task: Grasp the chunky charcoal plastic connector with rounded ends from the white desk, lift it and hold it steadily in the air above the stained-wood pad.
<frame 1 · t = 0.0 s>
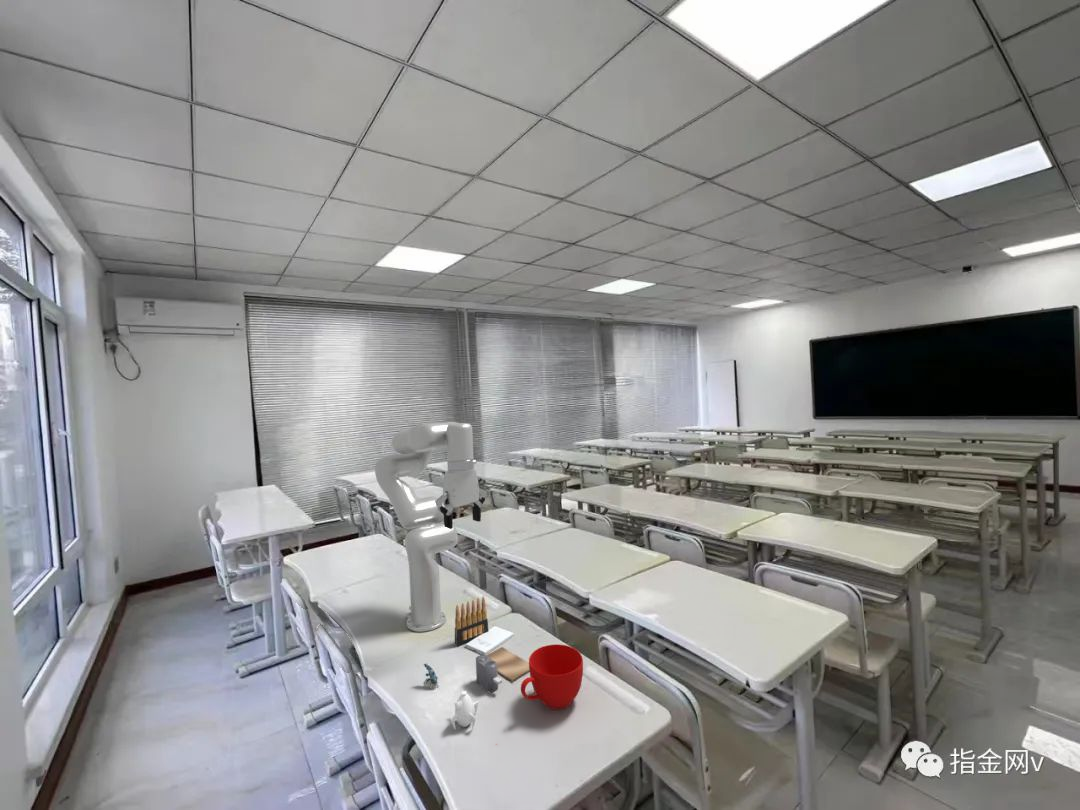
hand: (463, 524, 130), 37 cm above the table, tool pointing down, fingers open, 9 cm apart
wood pad: (506, 664, 123), on the table
external hard drive: (489, 644, 135), on the table
ceramic cup: (551, 705, 106), on the table
connector: (487, 684, 114), on the table
sculpture: (431, 687, 115), on the table
ammunition clip: (472, 640, 136), on the table
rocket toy: (465, 725, 101), on the table
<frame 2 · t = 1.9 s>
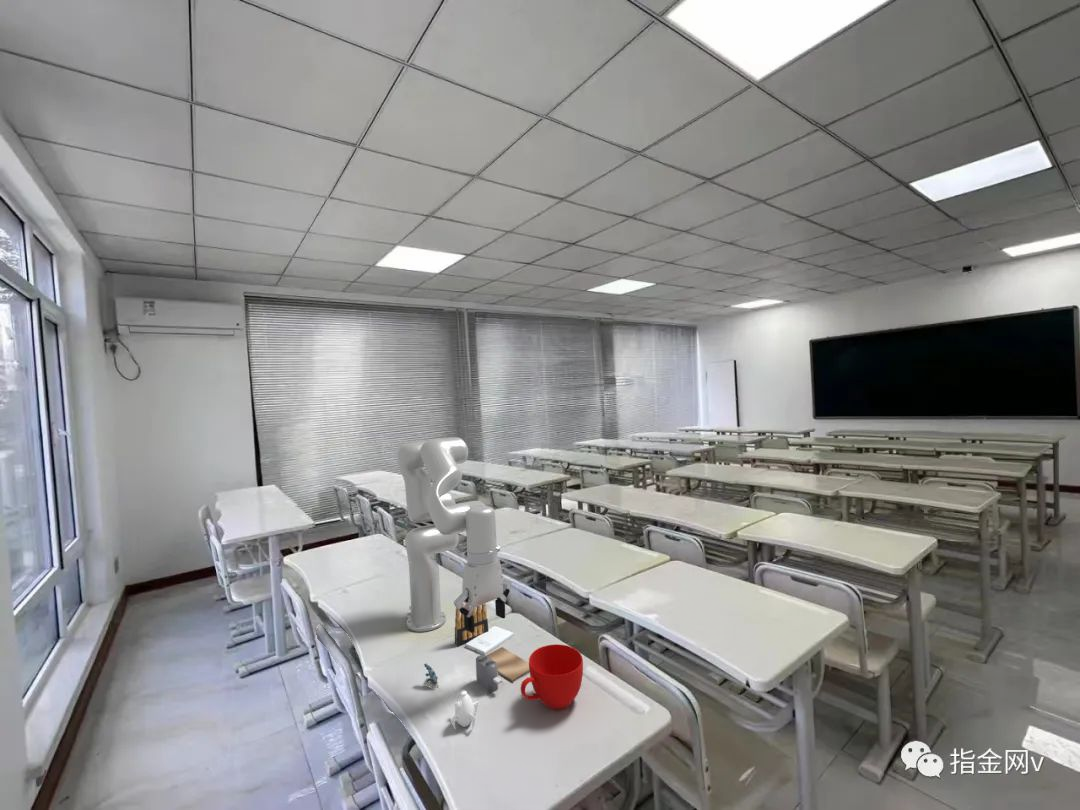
hand: (485, 623, 114), 16 cm above the table, tool pointing down, fingers open, 9 cm apart
nothing on the table moved.
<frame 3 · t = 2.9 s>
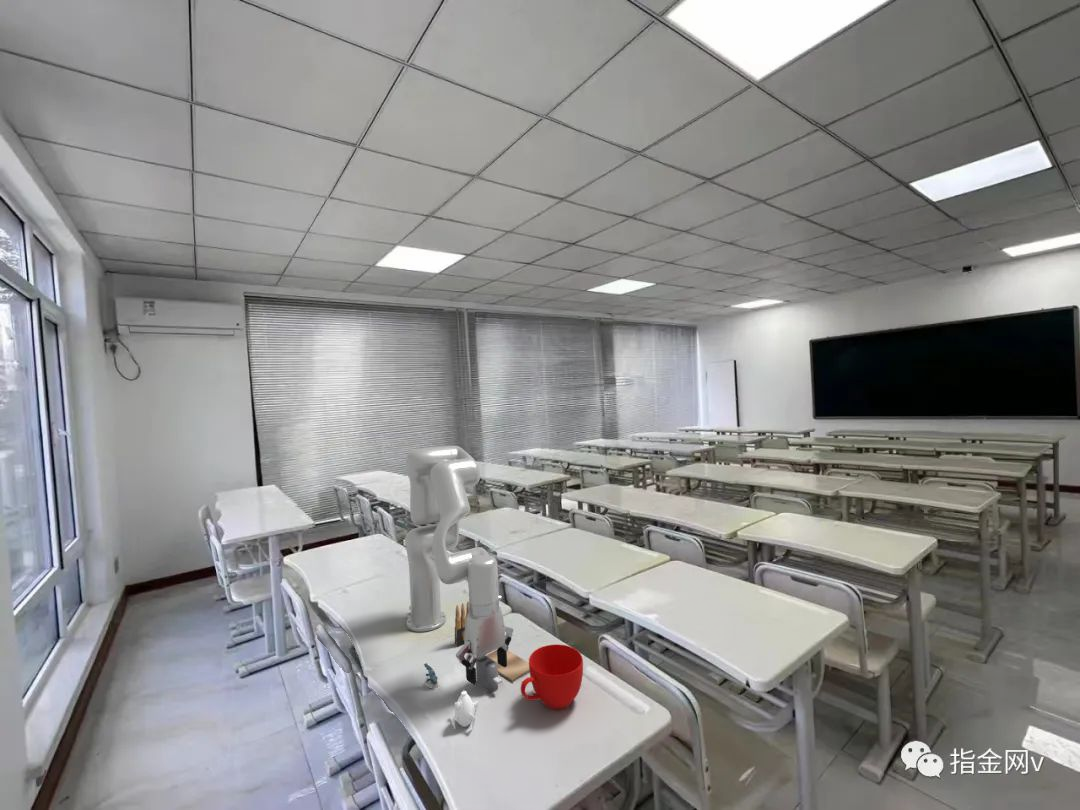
hand: (487, 673, 114), 3 cm above the table, tool pointing down, fingers open, 9 cm apart
nothing on the table moved.
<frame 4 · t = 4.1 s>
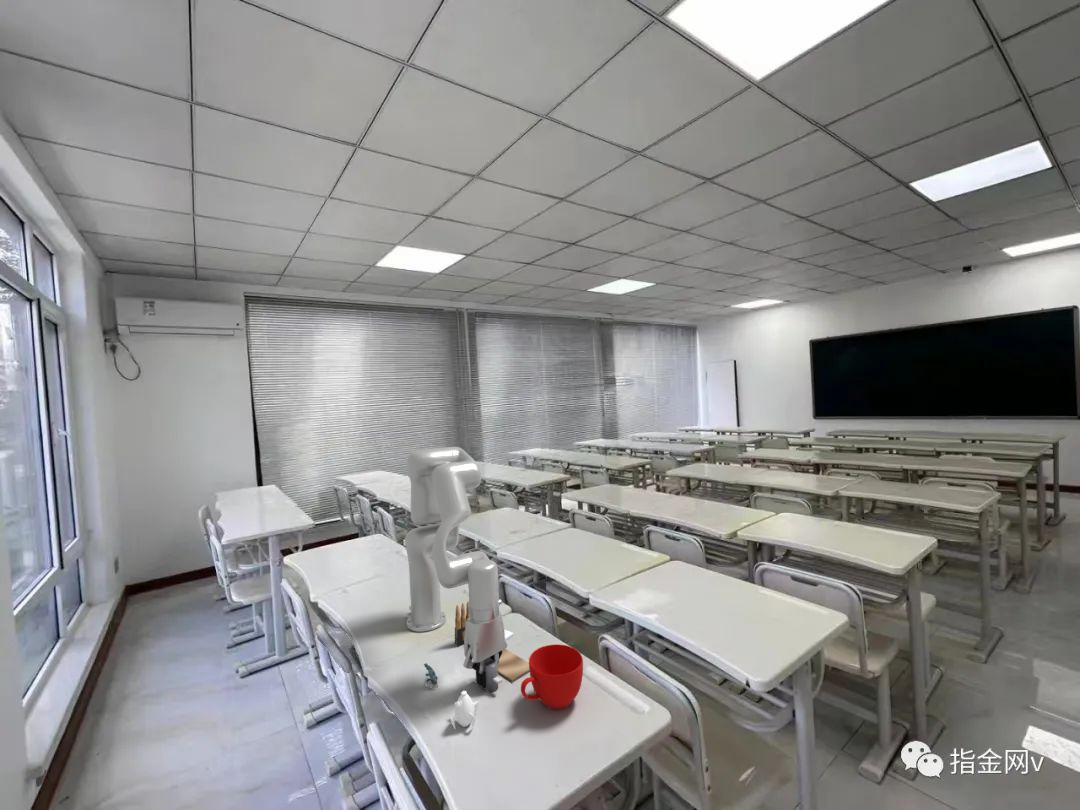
hand: (487, 681, 114), 1 cm above the table, tool pointing down, fingers closed on connector, 3 cm apart
connector: (487, 684, 114), on the table, touching gripper
everything else where it was.
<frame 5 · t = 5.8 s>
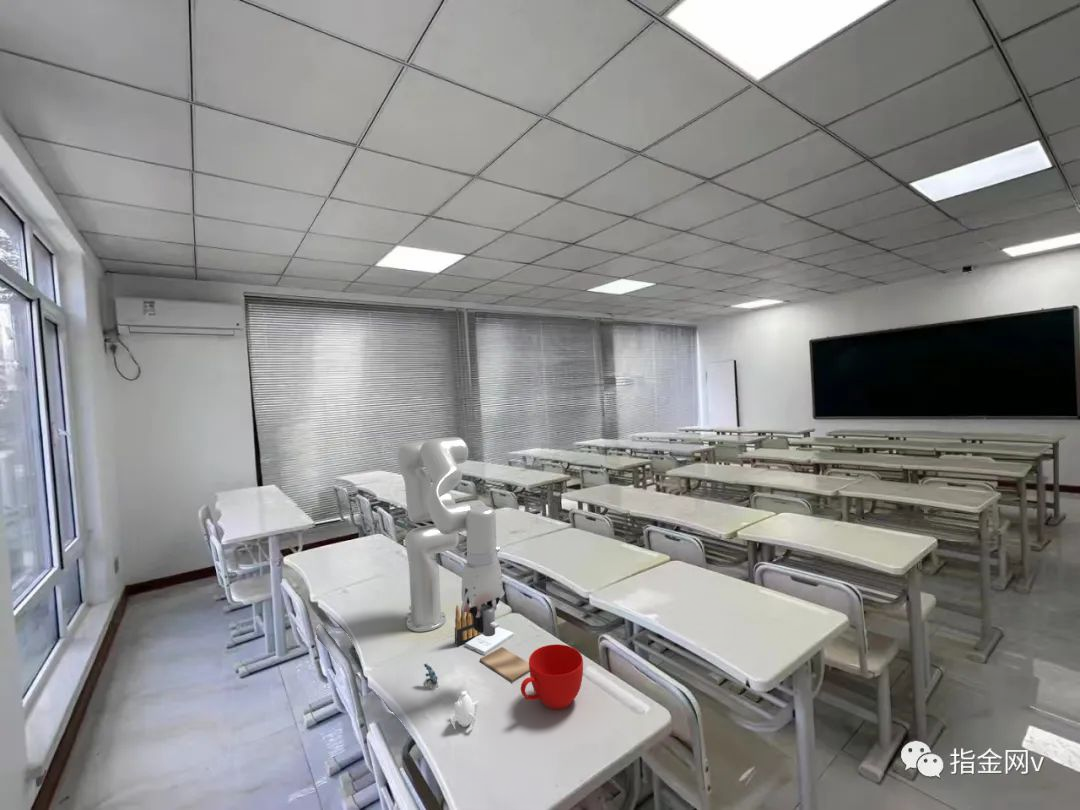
hand: (484, 627, 114), 15 cm above the table, tool pointing down, fingers closed on connector, 3 cm apart
connector: (484, 630, 114), point 14 cm above the table, touching gripper
everything else where it was.
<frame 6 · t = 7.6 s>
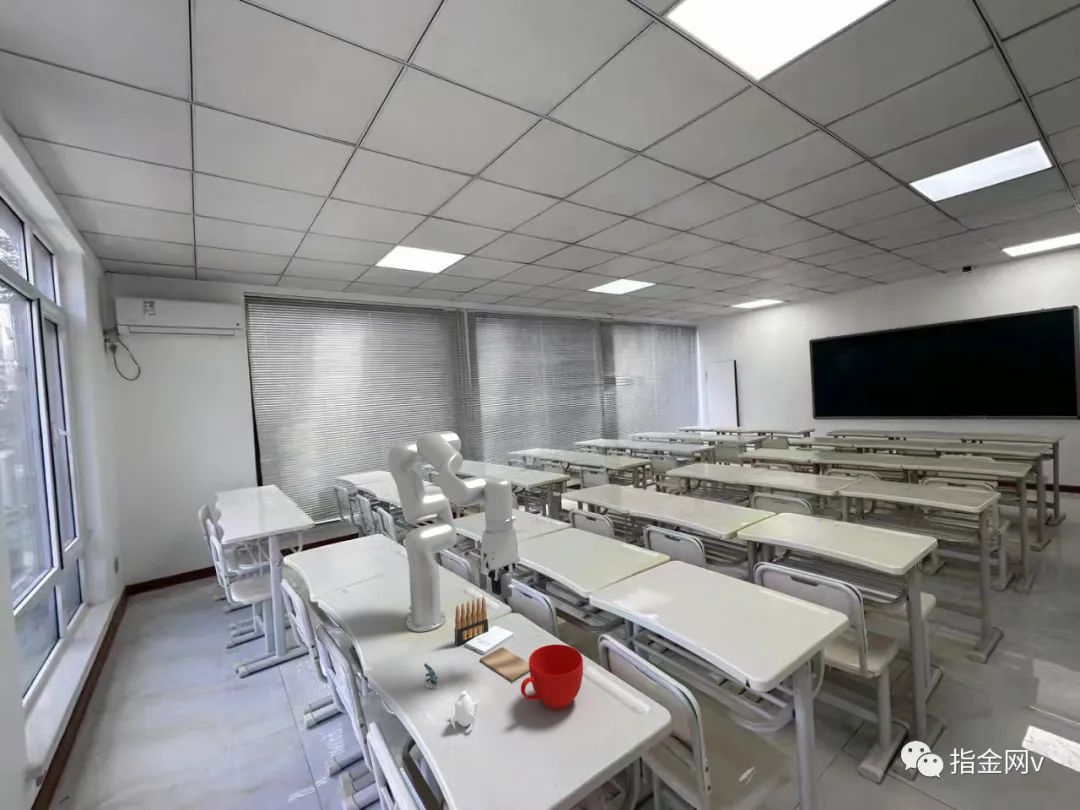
hand: (501, 590, 123), 20 cm above the table, tool pointing down, fingers closed on connector, 3 cm apart
connector: (501, 593, 123), point 19 cm above the table, touching gripper
everything else where it was.
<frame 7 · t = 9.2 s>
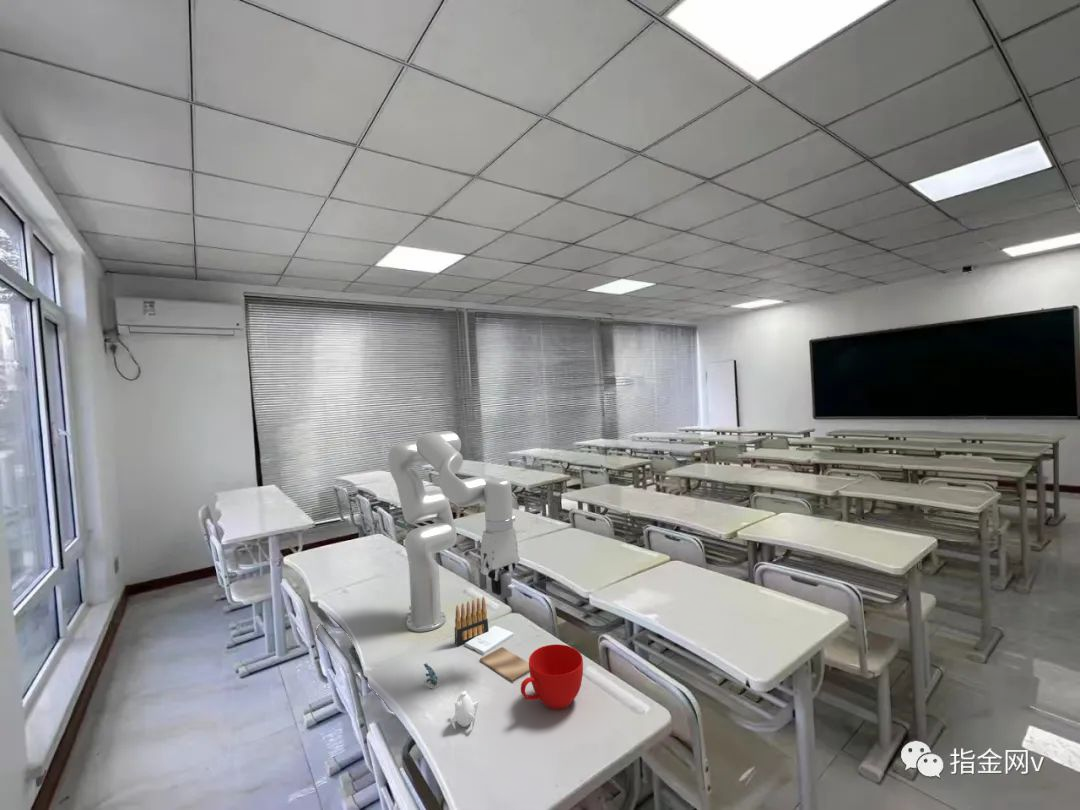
hand: (501, 590, 123), 20 cm above the table, tool pointing down, fingers closed on connector, 3 cm apart
connector: (501, 593, 123), point 19 cm above the table, touching gripper
everything else where it was.
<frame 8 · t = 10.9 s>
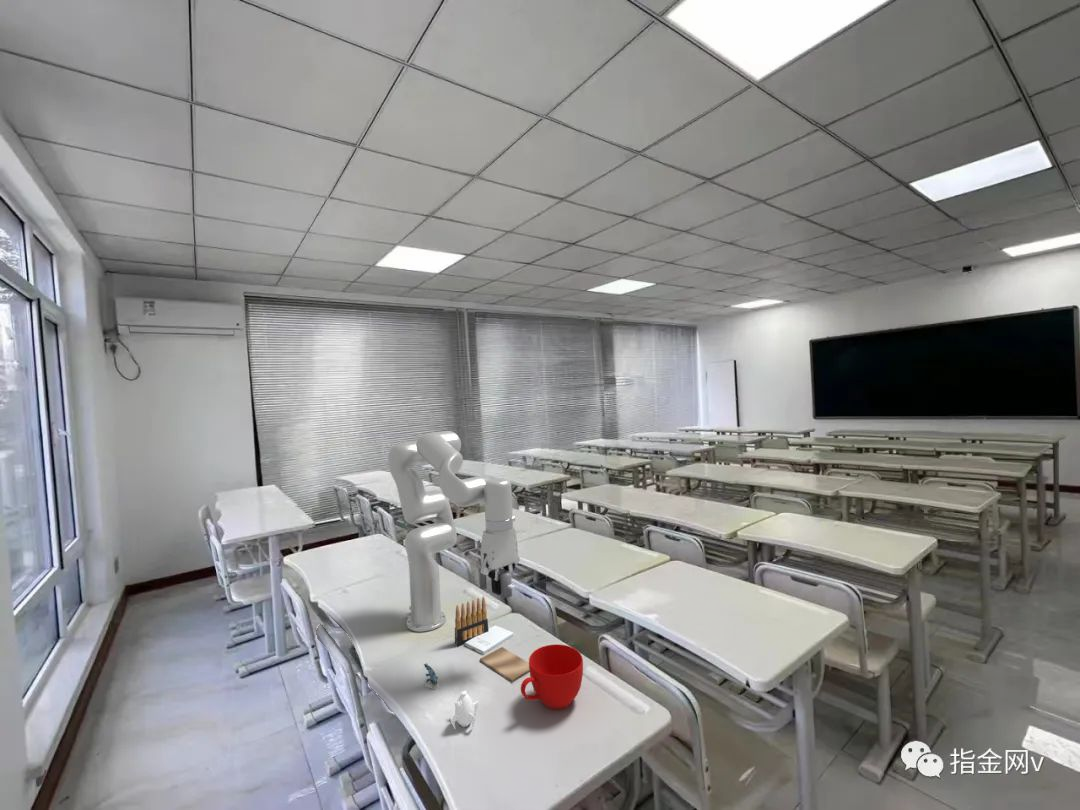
hand: (501, 590, 123), 20 cm above the table, tool pointing down, fingers closed on connector, 3 cm apart
connector: (501, 593, 123), point 19 cm above the table, touching gripper
everything else where it was.
at the end: the gripper is holding connector; connector point 19.4 cm above the table; connector inside the target area (1.0 cm from its centre), point 19.4 cm above the table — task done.
